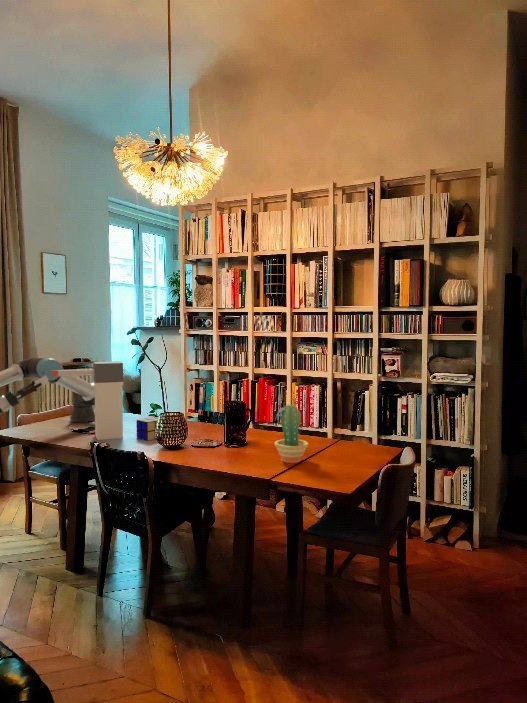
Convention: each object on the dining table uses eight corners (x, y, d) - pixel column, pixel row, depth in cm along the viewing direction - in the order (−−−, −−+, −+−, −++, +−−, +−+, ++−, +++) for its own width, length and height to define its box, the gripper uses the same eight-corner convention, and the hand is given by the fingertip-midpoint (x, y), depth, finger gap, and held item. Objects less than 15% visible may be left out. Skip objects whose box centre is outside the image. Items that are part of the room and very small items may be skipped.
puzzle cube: (136, 438, 286) (136, 419, 285) (152, 435, 293) (151, 417, 293) (147, 441, 279) (147, 422, 279) (163, 438, 286) (162, 419, 286)
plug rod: (51, 376, 275) (51, 370, 275) (51, 376, 278) (51, 370, 278) (102, 375, 285) (102, 369, 284) (102, 374, 287) (101, 368, 287)
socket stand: (96, 440, 280) (95, 363, 278) (94, 434, 293) (93, 361, 291) (124, 438, 285) (123, 363, 283) (120, 433, 298) (119, 361, 296)
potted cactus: (285, 454, 254) (286, 401, 253) (314, 459, 245) (315, 404, 244) (267, 461, 242) (267, 405, 240) (296, 466, 233) (297, 409, 231)
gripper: (13, 403, 281) (51, 382, 288) (11, 411, 258) (51, 387, 265) (5, 391, 280) (43, 370, 286) (2, 398, 257) (43, 374, 263)
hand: (47, 378), depth 275 cm, fingers open, 13 cm apart
